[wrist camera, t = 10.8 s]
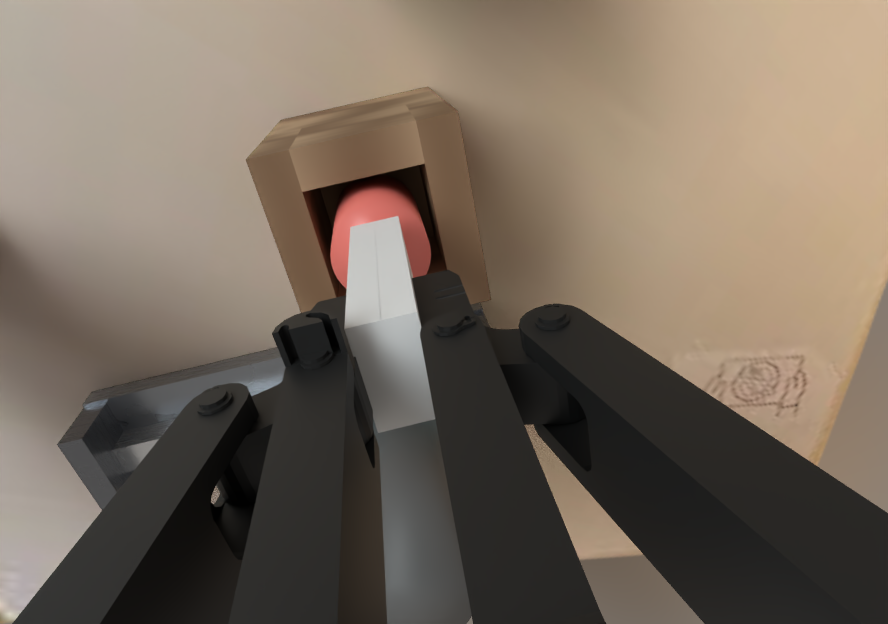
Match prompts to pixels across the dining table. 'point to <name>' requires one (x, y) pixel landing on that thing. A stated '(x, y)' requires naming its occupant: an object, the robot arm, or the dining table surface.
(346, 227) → the button
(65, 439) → the rail track
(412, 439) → the carriage
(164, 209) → the dining table surface
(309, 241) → the open wooden box
